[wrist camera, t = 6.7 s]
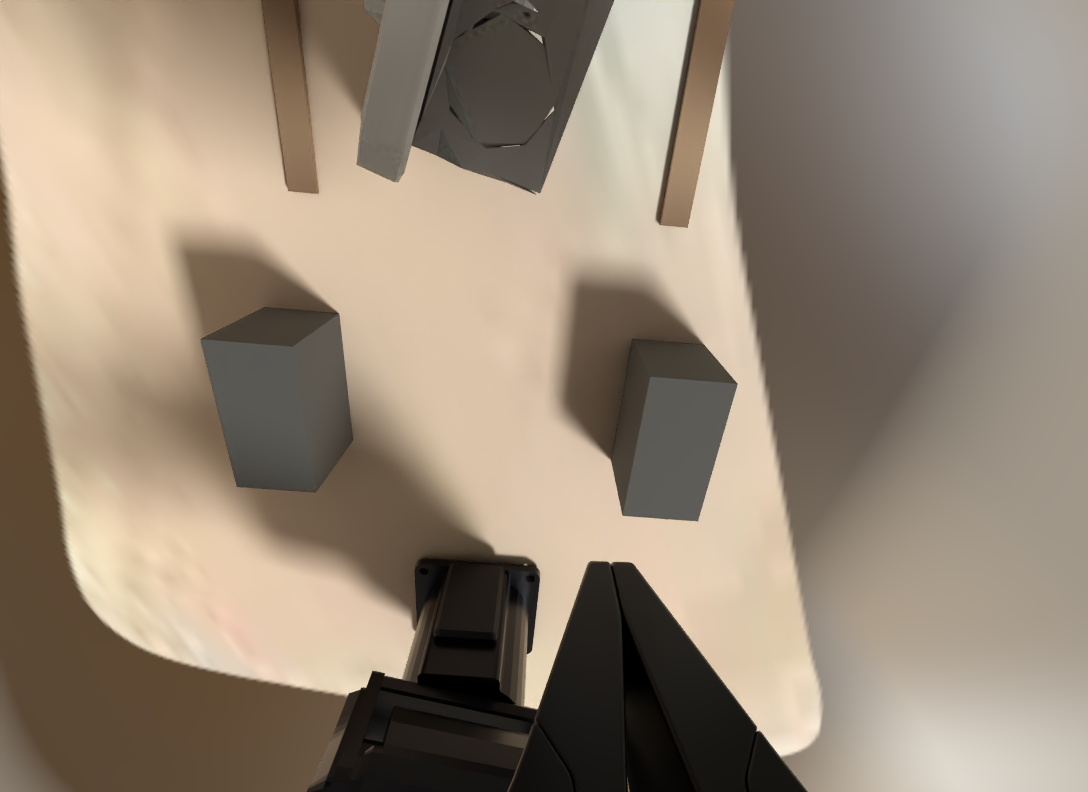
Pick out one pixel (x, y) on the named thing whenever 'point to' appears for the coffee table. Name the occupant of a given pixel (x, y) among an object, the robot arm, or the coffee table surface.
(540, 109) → the electrical switch
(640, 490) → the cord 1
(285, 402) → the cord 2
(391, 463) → the coffee table surface
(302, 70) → the bay
